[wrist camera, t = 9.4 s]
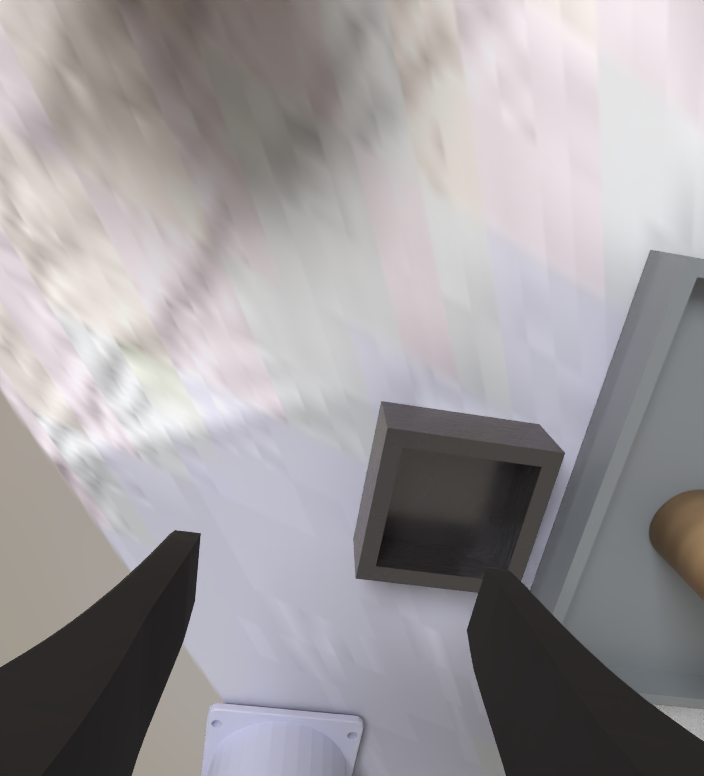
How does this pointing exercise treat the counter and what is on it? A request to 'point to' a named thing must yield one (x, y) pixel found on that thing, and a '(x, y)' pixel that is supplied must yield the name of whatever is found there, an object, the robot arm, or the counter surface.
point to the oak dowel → (682, 536)
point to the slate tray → (638, 496)
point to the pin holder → (451, 497)
